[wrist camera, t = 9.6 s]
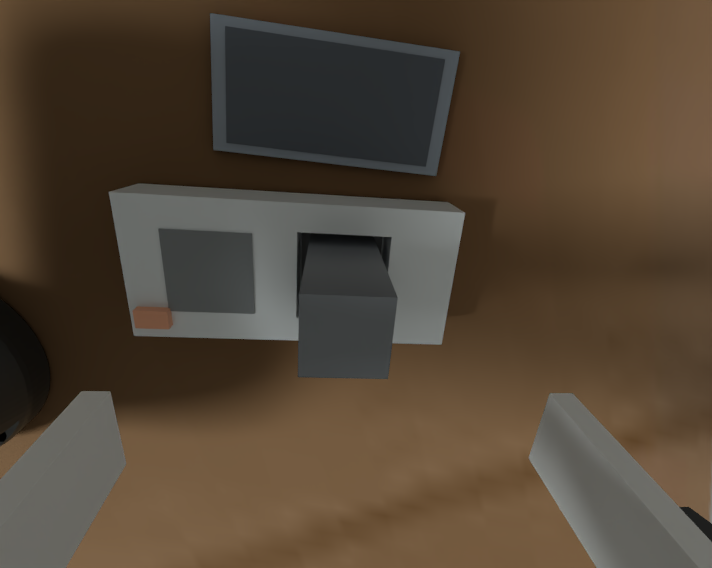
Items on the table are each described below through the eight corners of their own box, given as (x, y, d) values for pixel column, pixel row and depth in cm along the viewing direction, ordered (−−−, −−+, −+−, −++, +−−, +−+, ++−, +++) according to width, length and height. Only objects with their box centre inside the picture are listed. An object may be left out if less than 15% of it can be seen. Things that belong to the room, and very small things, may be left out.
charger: (309, 291, 27) (297, 377, 17) (310, 233, 25) (299, 294, 16) (368, 293, 27) (387, 379, 18) (373, 236, 25) (397, 297, 16)
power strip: (157, 311, 27) (129, 340, 23) (138, 183, 24) (102, 193, 20) (429, 320, 29) (444, 349, 25) (448, 202, 25) (468, 214, 22)
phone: (432, 174, 25) (436, 176, 24) (217, 148, 24) (212, 149, 23) (454, 54, 23) (460, 51, 22) (215, 17, 21) (209, 12, 20)
